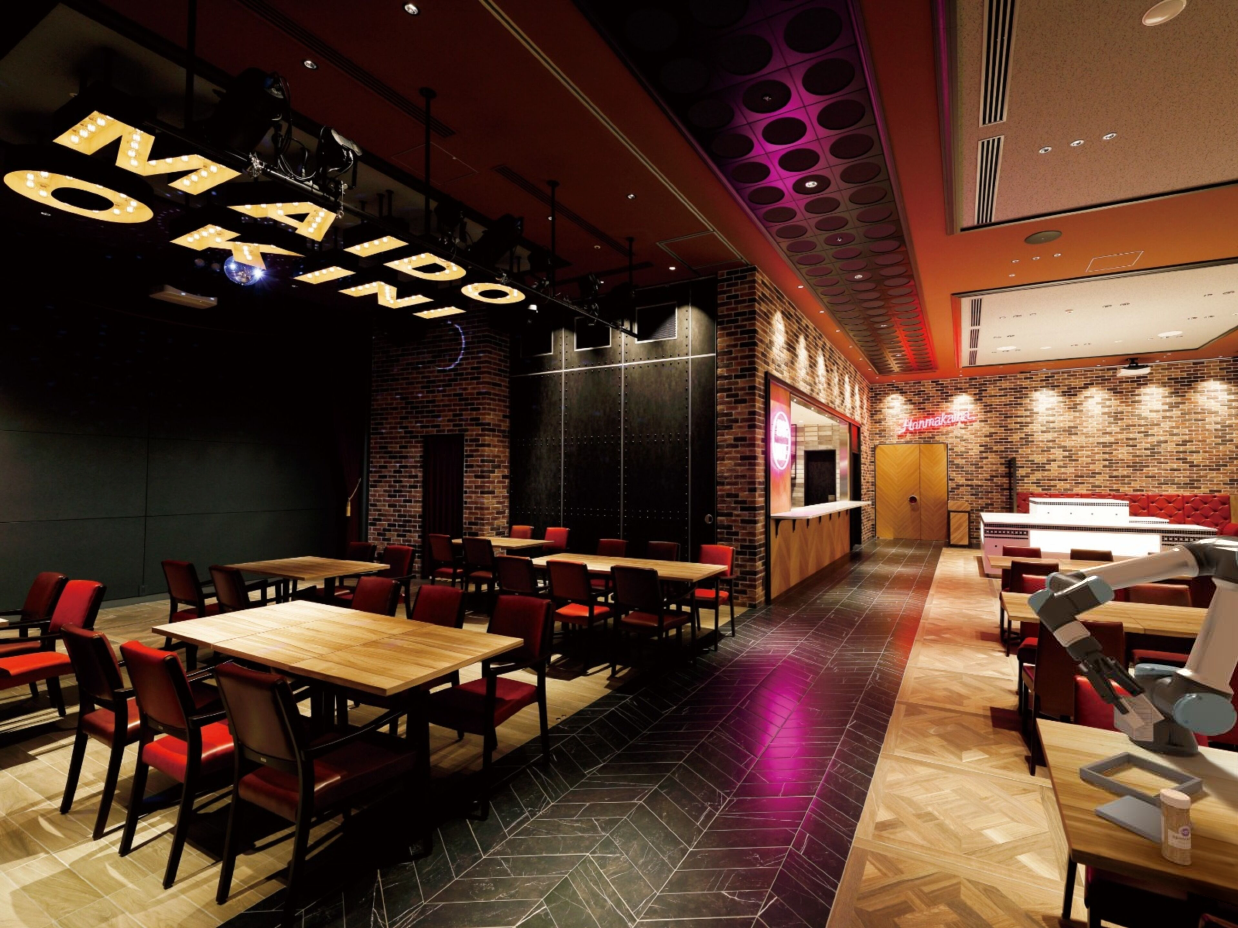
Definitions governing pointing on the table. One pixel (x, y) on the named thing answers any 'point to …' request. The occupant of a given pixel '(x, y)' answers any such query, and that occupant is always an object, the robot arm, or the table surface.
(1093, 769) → the grey rectangular frame
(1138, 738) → the medicine box
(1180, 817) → the sprinkles bottle
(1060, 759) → the table surface
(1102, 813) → the board
